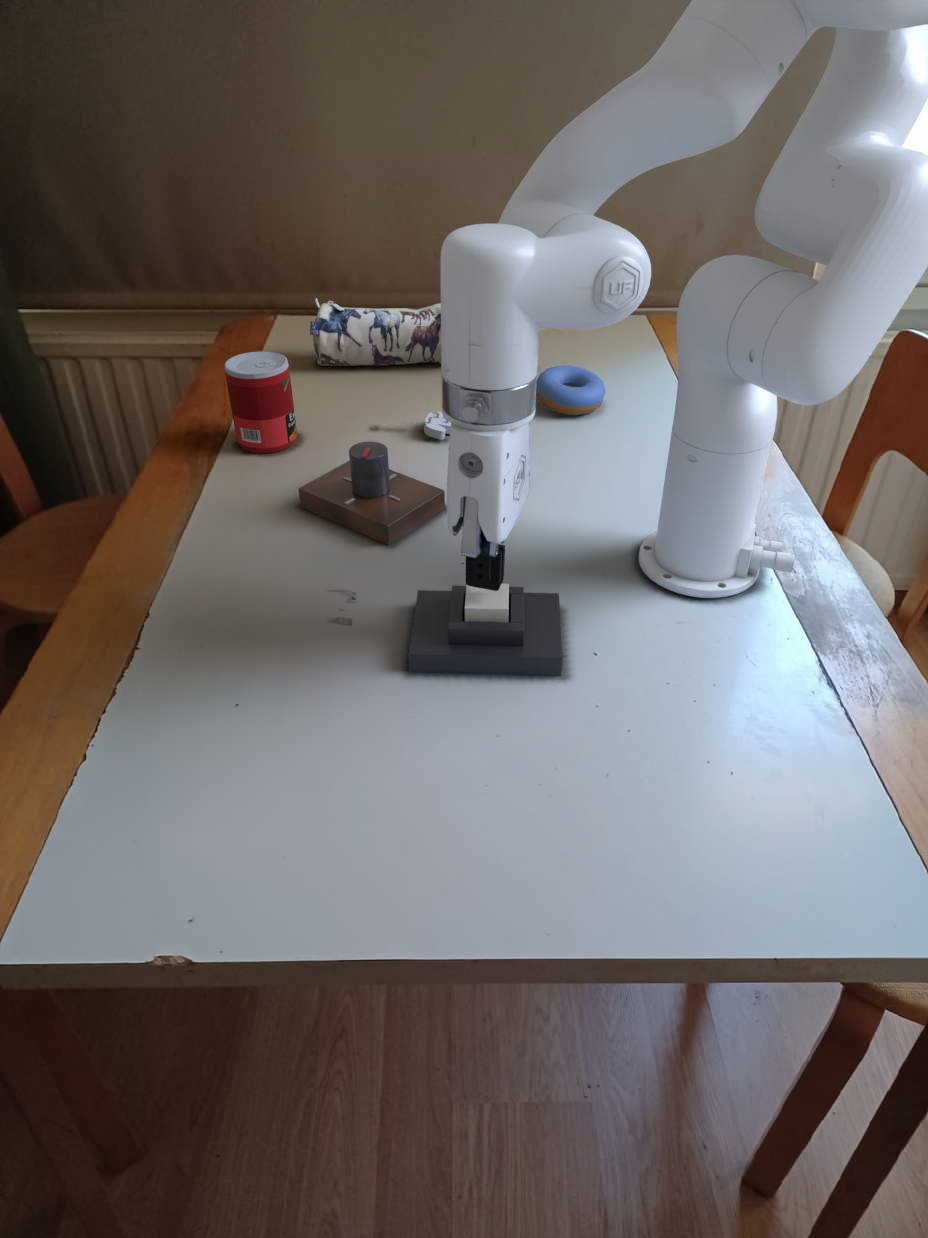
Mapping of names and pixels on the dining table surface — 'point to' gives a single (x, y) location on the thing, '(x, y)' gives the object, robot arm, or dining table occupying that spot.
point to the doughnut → (570, 390)
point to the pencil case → (376, 335)
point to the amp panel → (373, 504)
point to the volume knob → (369, 469)
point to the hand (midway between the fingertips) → (484, 583)
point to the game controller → (435, 425)
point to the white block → (487, 604)
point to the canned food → (261, 401)
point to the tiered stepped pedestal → (486, 636)
